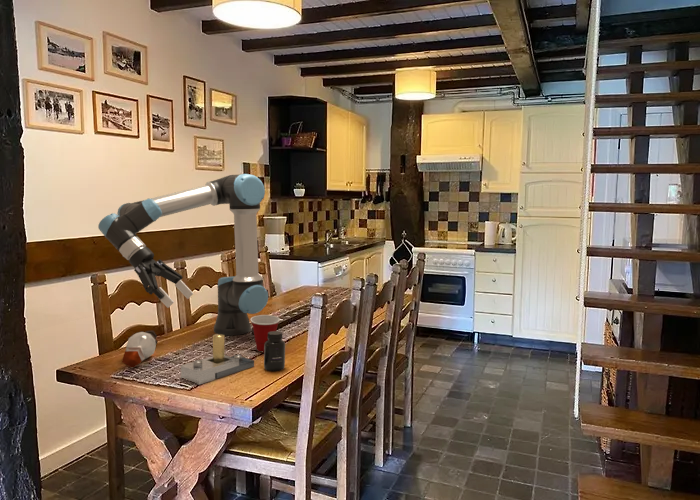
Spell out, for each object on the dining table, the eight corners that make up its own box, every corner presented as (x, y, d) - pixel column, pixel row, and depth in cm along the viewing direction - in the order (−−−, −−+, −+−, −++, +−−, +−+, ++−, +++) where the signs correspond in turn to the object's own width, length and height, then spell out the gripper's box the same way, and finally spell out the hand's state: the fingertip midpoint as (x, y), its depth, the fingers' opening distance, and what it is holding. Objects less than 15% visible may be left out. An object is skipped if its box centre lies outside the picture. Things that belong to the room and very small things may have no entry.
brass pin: (219, 369, 166) (219, 333, 164) (226, 371, 163) (226, 335, 162) (210, 372, 163) (210, 335, 161) (217, 374, 161) (217, 337, 159)
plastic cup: (255, 356, 180) (255, 322, 179) (246, 347, 190) (246, 316, 188) (284, 352, 185) (284, 320, 184) (274, 344, 195) (274, 313, 193)
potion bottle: (150, 357, 180) (137, 377, 166) (125, 343, 178) (110, 361, 164) (164, 337, 179) (153, 355, 165) (140, 322, 177) (126, 339, 163)
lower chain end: (236, 360, 174) (236, 350, 174) (254, 366, 169) (254, 356, 169) (198, 372, 162) (198, 361, 162) (216, 379, 157) (216, 368, 156)
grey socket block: (221, 365, 169) (220, 349, 169) (239, 371, 164) (239, 354, 163) (180, 378, 157) (180, 360, 156) (198, 384, 152) (198, 367, 151)
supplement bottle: (275, 373, 163) (275, 336, 162) (259, 369, 166) (259, 333, 165) (289, 367, 169) (289, 332, 167) (273, 363, 172) (273, 329, 171)
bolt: (152, 343, 200) (151, 353, 186) (140, 337, 198) (138, 347, 184) (160, 330, 200) (159, 339, 186) (148, 324, 199) (146, 333, 185)
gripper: (150, 256, 181) (191, 300, 180) (107, 266, 156) (154, 317, 156) (163, 242, 179) (204, 285, 179) (122, 250, 155) (169, 300, 154)
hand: (181, 300), depth 167 cm, fingers open, 13 cm apart
